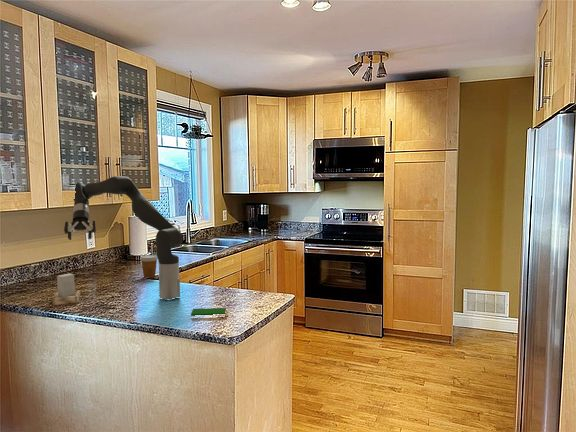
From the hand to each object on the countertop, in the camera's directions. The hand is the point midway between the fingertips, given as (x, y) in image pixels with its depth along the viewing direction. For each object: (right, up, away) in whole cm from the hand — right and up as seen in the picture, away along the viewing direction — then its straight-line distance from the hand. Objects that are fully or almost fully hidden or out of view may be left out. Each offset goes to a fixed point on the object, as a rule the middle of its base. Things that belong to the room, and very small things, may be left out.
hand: (79, 238), depth 205 cm
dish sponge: (+71, -31, -33) cm, 84 cm away
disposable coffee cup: (+24, -24, +32) cm, 47 cm away
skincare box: (+1, -28, -13) cm, 31 cm away
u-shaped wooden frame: (+1, -28, -14) cm, 31 cm away
